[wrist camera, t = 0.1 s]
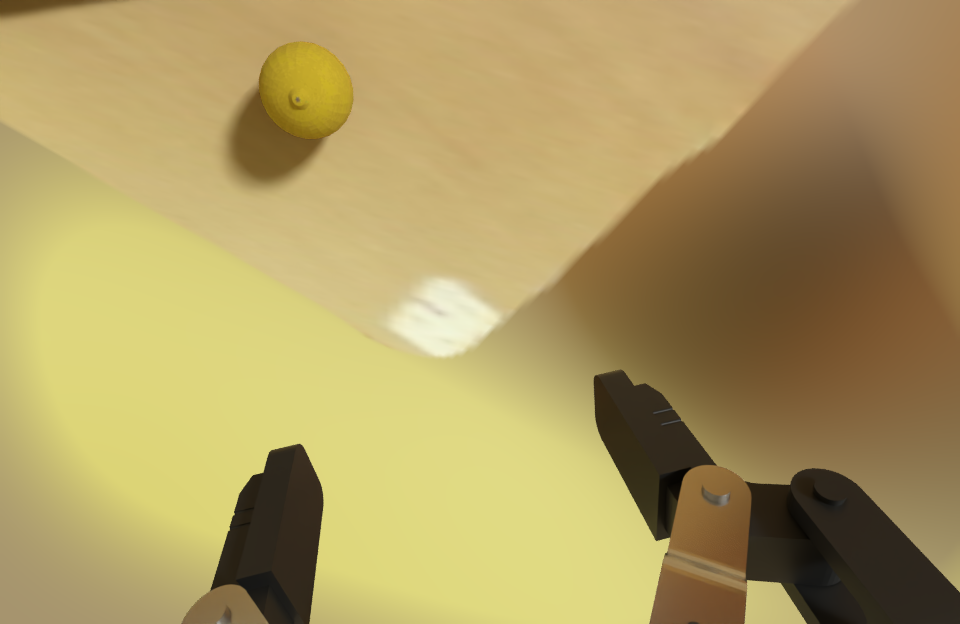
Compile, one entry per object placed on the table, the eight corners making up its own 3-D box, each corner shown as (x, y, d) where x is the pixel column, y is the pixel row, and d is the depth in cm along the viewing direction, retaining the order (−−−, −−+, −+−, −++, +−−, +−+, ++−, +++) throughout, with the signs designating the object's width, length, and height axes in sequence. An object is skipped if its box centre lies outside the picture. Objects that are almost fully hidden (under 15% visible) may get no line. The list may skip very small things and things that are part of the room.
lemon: (282, 25, 33) (255, 24, 26) (365, 61, 35) (361, 69, 28) (265, 109, 35) (236, 129, 28) (344, 139, 37) (334, 164, 30)
